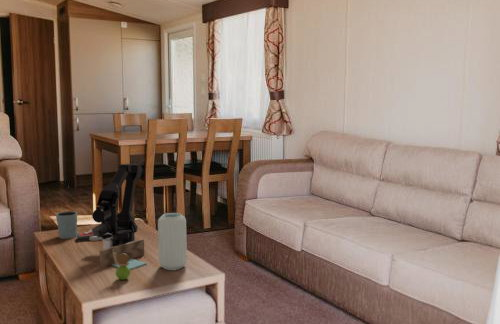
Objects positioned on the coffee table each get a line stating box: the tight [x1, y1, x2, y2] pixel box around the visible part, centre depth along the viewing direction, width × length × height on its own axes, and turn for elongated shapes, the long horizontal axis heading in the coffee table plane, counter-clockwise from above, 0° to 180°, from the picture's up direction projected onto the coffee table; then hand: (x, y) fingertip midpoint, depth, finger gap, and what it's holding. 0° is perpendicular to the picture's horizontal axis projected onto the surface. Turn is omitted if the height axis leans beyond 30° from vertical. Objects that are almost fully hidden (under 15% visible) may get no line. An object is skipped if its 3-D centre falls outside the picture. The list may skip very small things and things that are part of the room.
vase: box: [157, 212, 188, 271], centre depth 209 cm, size 12×12×22 cm
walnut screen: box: [99, 238, 145, 268], centre depth 218 cm, size 22×2×7 cm, turn 141°
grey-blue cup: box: [55, 210, 78, 240], centre depth 254 cm, size 10×10×12 cm
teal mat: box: [111, 258, 147, 271], centre depth 213 cm, size 10×10×1 cm
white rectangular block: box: [102, 237, 113, 250], centre depth 227 cm, size 5×5×7 cm
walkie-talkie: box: [76, 229, 103, 242], centre depth 252 cm, size 9×4×20 cm
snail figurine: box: [112, 249, 131, 281], centre depth 196 cm, size 5×6×12 cm
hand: (111, 250), depth 227 cm, fingers closed on white rectangular block, 5 cm apart
